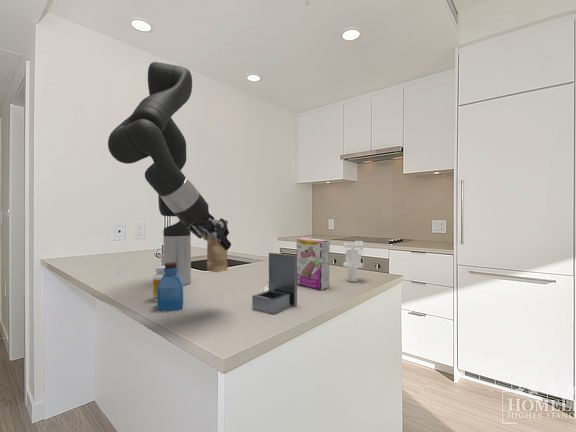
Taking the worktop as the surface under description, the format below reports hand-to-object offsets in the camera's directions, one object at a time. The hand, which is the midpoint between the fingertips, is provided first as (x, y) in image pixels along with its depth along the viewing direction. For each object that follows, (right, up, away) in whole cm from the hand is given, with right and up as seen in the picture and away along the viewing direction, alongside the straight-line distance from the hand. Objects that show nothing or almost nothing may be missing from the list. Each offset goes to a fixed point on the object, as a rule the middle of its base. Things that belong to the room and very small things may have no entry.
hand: (222, 246), depth 84 cm
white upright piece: (+42, -16, +34) cm, 56 cm away
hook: (+13, -17, +19) cm, 29 cm away
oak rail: (-1, -6, -1) cm, 6 cm away
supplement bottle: (-19, -17, +9) cm, 27 cm away
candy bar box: (+26, -16, +25) cm, 40 cm away
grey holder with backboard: (+13, -17, +2) cm, 22 cm away
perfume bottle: (-15, -17, +2) cm, 23 cm away
